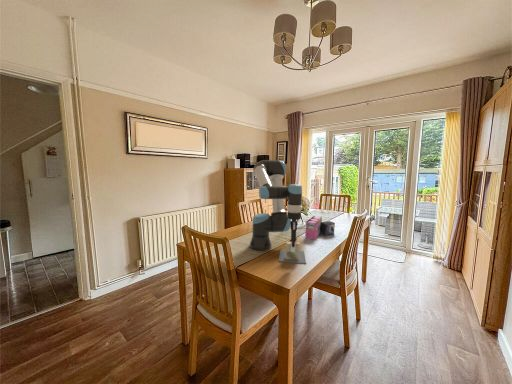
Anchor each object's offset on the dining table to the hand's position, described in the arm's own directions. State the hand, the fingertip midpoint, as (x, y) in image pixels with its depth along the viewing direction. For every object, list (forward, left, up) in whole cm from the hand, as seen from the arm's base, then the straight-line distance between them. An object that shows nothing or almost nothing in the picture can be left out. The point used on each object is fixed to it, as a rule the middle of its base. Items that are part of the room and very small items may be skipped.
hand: (292, 251), depth 124 cm
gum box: (+19, +59, -9) cm, 62 cm away
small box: (+30, +63, -8) cm, 70 cm away
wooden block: (0, +8, -8) cm, 11 cm away
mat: (0, +12, -8) cm, 14 cm away
